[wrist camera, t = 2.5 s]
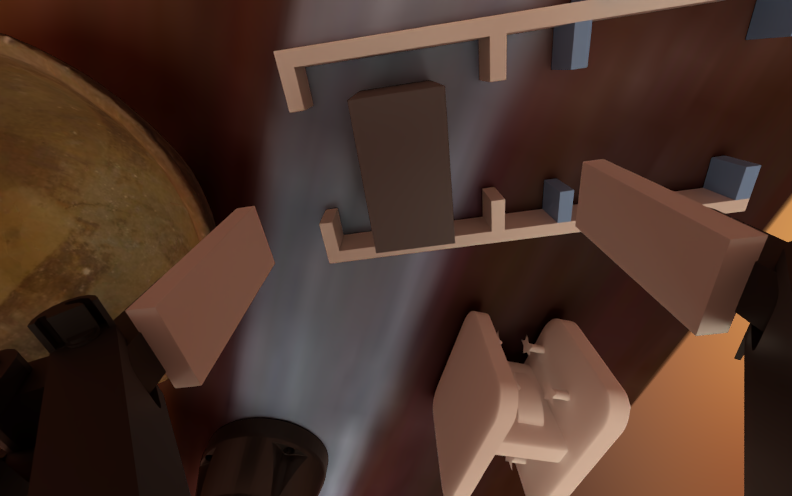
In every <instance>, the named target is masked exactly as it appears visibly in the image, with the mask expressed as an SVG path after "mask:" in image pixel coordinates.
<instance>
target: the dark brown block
mask: <svg viewBox="0 0 792 496" xmlns="http://www.w3.org/2000/svg"><path fill="white" fill-rule="evenodd" d="M347 102H348V107H349V112H350V117H351V123H352V128H353V133H354V139H355V144H356V149H357V154H358V160H359V165H360V170H361V176H362V181H363V186H364V192H365V197H366V202H367V207H368V213H369V218H370V223H371V229H372V234H373V239H374V244H375V250H376V253H383V252H391V251H399V250H406V249H414V248H422V247H430V246H438V245H446V244H454V243H455V232H454V217H453V202H452V187H451V171H450V156H449V141H448V126H447V111H446V95H445V86H444V85H442V84H439V83H436V82H433V81H430V80H428V81H422V82H415V83H409V84H402V85H396V86H389V87H383V88H376V89H370V90H363V91H359V92H358V93H357V94H355V95H354V96H353V97H351V98H350V99H349V100H347Z"/></svg>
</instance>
